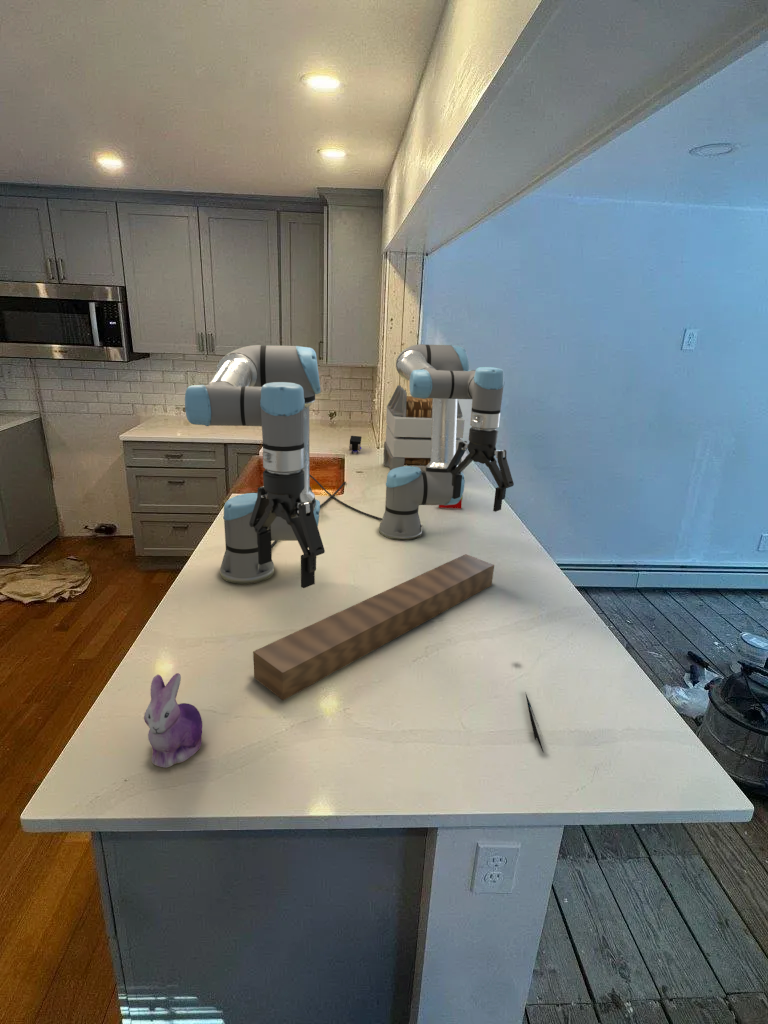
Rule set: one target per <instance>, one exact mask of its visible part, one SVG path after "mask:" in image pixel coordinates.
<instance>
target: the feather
mask: <svg viewBox="0 0 768 1024" xmlns="http://www.w3.org/2000/svg"><path fill="white" fill-rule="evenodd" d="M525 697H526V698H525V699H526V703H527V708H528V714H529V719H530V723H531V728H532V733H533V738H534V740H537V742H538V744H539V746H540V749H541V751H542V753H545V751H544V749H543V746H542V741H541V739H543V737H544V736H543V734H541V735H542V736H539V733H542V730H541V729H539V731H538V728H539V727H540V725H539V723H538V721H537V719H536V716H535V713H534V711H533V708H532V705H531V703H530V700H529V697H528V694H527V692H526V691H525ZM536 725H537V726H536ZM540 737H541V739H540ZM544 744H545V743H544ZM544 746H547V745H546V744H545V745H544Z"/></svg>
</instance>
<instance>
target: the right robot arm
mask: <svg viewBox="0 0 768 1024" xmlns="http://www.w3.org/2000/svg"><path fill="white" fill-rule="evenodd" d="M395 369H396V371H397V373H398V374H399V376H400V377H401V378H402V379H404V380H406V381H409V394H410V396H412V397H414V398H422V399H426V398H432V427H431V460H430V463H429V464H428V465H427V466H425V471H422V469H421V467H420V466H407V465H404V466H402V467H397V468H394V469H392V470H391V471H390V470H388V473H387V475H386V480H385V481H386V482H385V487H386V488H385V504H384V505H385V507H384V508H385V509H384V513H383V515H382V517H379V516H376V515H372V514H370V513H368V512H364V511H363V510H359V509H357V508H355V507H354V506H351V505H348V504H347V503H345V502H343V501H341V500H340V499H338V498H336V497H335V495H334V496H332V495H333V494H331V493H330V492H329V491H328V490H327V489H326V488H325V487H324V486H323V485H322V484H321V483H320V482H319V481H318V480H317V479H316V478H315V477H314V476H312V475H311V474H310V478H311V479H312V480H313V481H314V482H315V483H316V484H317V485H318V486H319V487H320V488H321V489H322V490H323V491H324V492H325V493H326V494H327V495H328V496H330V497H331V496H332V498H331V499H334V500H335V501H337V502H338V503H340V504H341V505H343V506H345V507H346V508H348V509H351V510H352V511H355V512H357V513H359V514H362V515H365V516H368V517H370V518H373V519H377V520H380V521H381V522H379V527H378V533H379V534H380V535H381V536H382V537H385V538H387V539H389V540H395V541H410V540H415V539H418V538H420V537H421V536H422V535H423V529H424V526H423V524H421V518H420V515H419V507H420V506H439V505H445V506H446V505H455V504H457V503H458V502H459V501H460V499H461V498H462V499H463V495H464V491H465V482H466V481H465V474H464V472H463V471H464V470H465V469H466V468H467V467H468V466H469V465H470V464H471V463H472V462H474V463H480V464H482V465H485V466H486V467H487V468H488V470H489V471H490V473H491V475H492V477H493V479H494V481H495V483H496V485H497V487H495V492H494V493H495V494H494V500H493V508H492V511H493V512H495V513H496V512H498V511H501V510H502V506H503V505H502V504H503V500H505V499H506V495H507V494H506V493H507V489H509V488H512V487H514V485H515V484H514V483H515V482H514V479H513V476H512V473H511V469H510V465H509V463H508V460H507V450H506V449H502V450H499V449H497V447H496V446H497V444H498V437H499V430H498V428H499V427H500V420H501V410H502V400H503V394H504V386H505V371H504V369H503V368H499V367H493V366H479V367H477V368H476V369H470V362H469V357H468V353H467V351H466V349H465V348H464V347H463V346H461V345H453V344H424V343H419V344H414V345H411V346H408V347H405V348H404V349H403V350H402V351H400V353H399V354H398V356H397V358H396V362H395ZM457 400H458V401H459V400H471V402H472V403H471V411H470V422H469V425H470V428H469V432H468V441H467V440H462V441H463V442H459V444H458V449H457V451H456V427H457ZM467 450H468V453H467V455H466V456H465V457H464V459H463V460H462V462H461V463H460V464H459V465H458V463H459V462H460V460H461V458H463V456H464V455H465V454H466V451H467ZM496 459H497V460H496Z"/></svg>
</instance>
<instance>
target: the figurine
mask: <svg viewBox="0 0 768 1024" xmlns="http://www.w3.org/2000/svg"><path fill="white" fill-rule="evenodd" d="M181 678H182V676H181V673H180V672H176V673H175V674H173V675H172V677H171V678H170V679H169V681H168V682H167V683H166V684H165V682H164V679H163V677H162V676H161V674H156V675H155V676H154V677H153V678H152V680H151V683H150V701H149V703H148V705H147V708H146V709H145V712H144V716H143V720H144V724H146V726H148V728H149V729H148V733H147V738H148V739H147V740H148V742H149V744H150V746H151V749H152V754H151V764H152V765H155V766H157V767H160V768H170V767H172V766H174V765H175V764H180V763H184V762H185V761H187V760H188V759H190V758H191V757H193V756H194V755H195V754H196V753H197V752H198V751H199V750H200V748H201V747H202V740H203V739H202V737H203V719H202V715H201V713H200V711H199V709H198V708H197V707H196V706H195V705H193V704H191V703H186V702H183V703H178V701H177V695H178V692H179V688H180V686H181V680H182V679H181Z"/></svg>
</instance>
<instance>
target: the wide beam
mask: <svg viewBox="0 0 768 1024" xmlns="http://www.w3.org/2000/svg"><path fill="white" fill-rule="evenodd" d="M494 571H495V564H493V563H491V562H488V561H485V560H482V559H481V558H478V557H475V556H472V555H469V554H466V553H464V554H463V555H460V556H458V557H456V558H454V559H452V560H449V561H447V562H446V563H443V564H441V565H438V566H437V567H434V568H432V569H429V570H428V571H426V572H424V573H421V574H419V575H417V576H415V577H412V578H409V579H408V580H406V581H404V582H401V583H399V584H398V585H397V584H396V585H395V586H392V587H391V588H388V589H387V590H383V591H381V592H380V593H377V594H375V595H374V596H371V597H369V598H366V599H364V600H362V601H360V602H357V603H356V604H354V605H351V606H349V607H347V608H344V609H343V610H340V611H339V612H336V613H333V614H332V615H330V616H327V617H325V618H323V619H320V620H318V621H316V622H314V623H312V624H310V625H308V626H306V627H303V628H301V629H299V630H297V631H294V632H293V633H290V634H287V635H286V636H284V637H281V638H278V639H277V640H275V641H272V642H271V643H268V644H266V645H264V646H261V647H259V648H257V649H255V650H253V651H252V660H253V679H255V680H256V681H257V682H258V683H260V684H261V685H262V686H264V687H265V689H266V688H267V689H268V690H269V691H270V692H271V693H273V694H274V695H275V696H277V697H278V698H279V699H281V700H282V701H285V700H287V699H289V698H290V697H292V696H294V695H295V694H298V693H299V692H301V691H303V690H304V689H307V688H308V687H310V686H312V685H314V684H316V683H318V682H319V681H321V680H323V679H325V678H326V677H328V676H330V675H332V674H334V673H335V672H337V671H339V670H341V669H342V668H344V667H347V666H348V665H350V664H352V663H354V662H355V661H358V660H359V659H361V658H362V657H365V656H366V655H368V654H370V653H372V652H373V651H376V650H377V649H379V648H381V647H383V646H384V645H386V644H388V643H389V642H391V641H392V642H393V641H394V640H396V639H397V638H399V637H401V636H403V635H404V634H406V633H408V632H410V631H412V630H413V629H416V628H417V627H419V626H421V625H422V624H424V623H426V622H428V621H430V620H431V619H433V618H436V617H437V616H439V615H440V614H442V613H444V612H446V611H448V610H449V609H451V608H453V607H455V606H457V605H459V604H461V603H462V602H464V601H466V600H468V599H470V598H472V597H473V596H475V595H477V594H479V593H480V592H482V591H484V590H486V589H488V588H489V587H492V586H493V579H494Z"/></svg>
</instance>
